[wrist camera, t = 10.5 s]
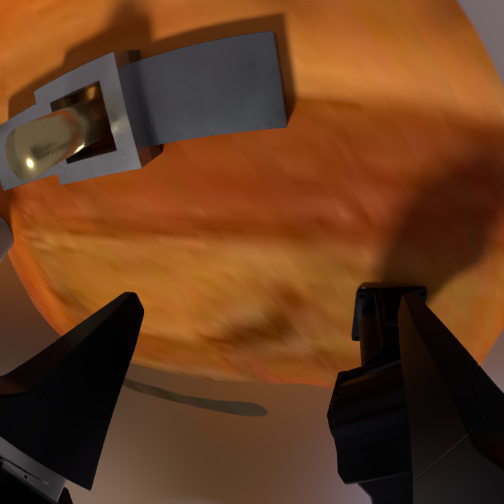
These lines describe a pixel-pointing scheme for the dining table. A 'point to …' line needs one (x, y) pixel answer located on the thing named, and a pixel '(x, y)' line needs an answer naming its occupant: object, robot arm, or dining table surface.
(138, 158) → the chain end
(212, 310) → the dining table surface
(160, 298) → the dining table surface
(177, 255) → the dining table surface
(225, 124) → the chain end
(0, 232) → the house plant
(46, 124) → the brass pin
